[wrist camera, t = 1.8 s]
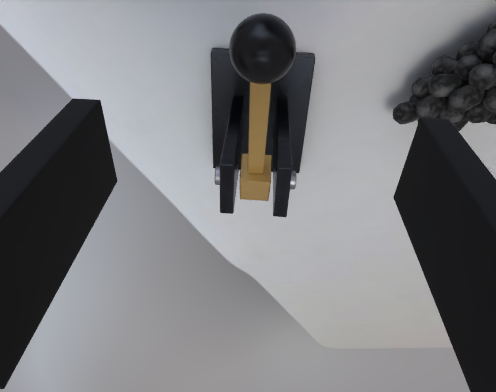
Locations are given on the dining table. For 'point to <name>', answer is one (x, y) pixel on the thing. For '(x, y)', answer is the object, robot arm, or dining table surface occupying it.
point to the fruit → (457, 87)
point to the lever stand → (278, 130)
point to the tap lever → (260, 90)
